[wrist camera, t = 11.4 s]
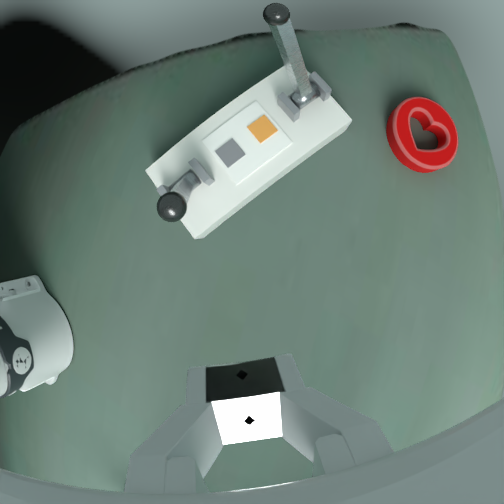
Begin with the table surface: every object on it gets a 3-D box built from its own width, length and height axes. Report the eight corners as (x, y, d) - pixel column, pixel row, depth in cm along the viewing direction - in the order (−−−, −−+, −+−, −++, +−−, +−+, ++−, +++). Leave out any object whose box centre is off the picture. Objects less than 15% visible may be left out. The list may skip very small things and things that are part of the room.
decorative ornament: (381, 160, 36) (389, 155, 33) (389, 94, 35) (397, 85, 32) (444, 182, 35) (456, 179, 32) (450, 117, 34) (461, 111, 31)
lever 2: (301, 113, 31) (265, 16, 19) (289, 103, 32) (250, 9, 20) (322, 99, 31) (295, 1, 19) (310, 89, 32) (279, -6, 20)
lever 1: (181, 199, 34) (164, 235, 22) (169, 184, 33) (143, 211, 21) (202, 182, 34) (197, 208, 21) (190, 167, 33) (176, 183, 20)
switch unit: (203, 237, 38) (188, 239, 32) (157, 175, 38) (136, 167, 32) (345, 130, 36) (357, 112, 29) (294, 73, 36) (296, 48, 29)
